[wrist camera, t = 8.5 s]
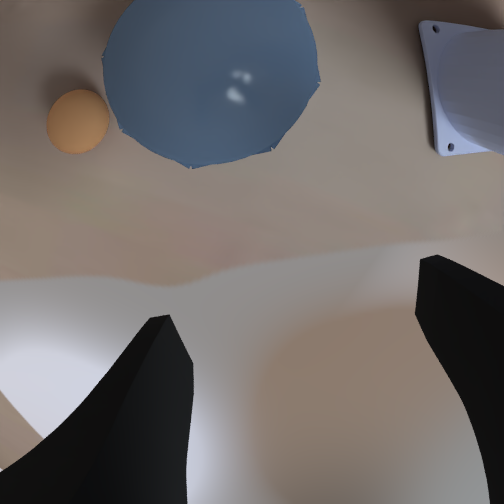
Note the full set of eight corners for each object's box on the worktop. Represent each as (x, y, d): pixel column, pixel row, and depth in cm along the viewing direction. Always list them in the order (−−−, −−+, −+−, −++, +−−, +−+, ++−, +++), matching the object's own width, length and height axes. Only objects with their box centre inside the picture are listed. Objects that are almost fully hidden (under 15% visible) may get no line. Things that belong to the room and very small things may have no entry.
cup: (267, 9, 12) (291, -46, 6) (291, 119, 15) (333, 141, 8) (147, 38, 12) (87, 7, 6) (175, 146, 15) (133, 187, 9)
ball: (109, 79, 13) (82, 78, 10) (125, 135, 15) (102, 146, 12) (59, 102, 13) (27, 108, 11) (75, 155, 15) (46, 170, 12)
